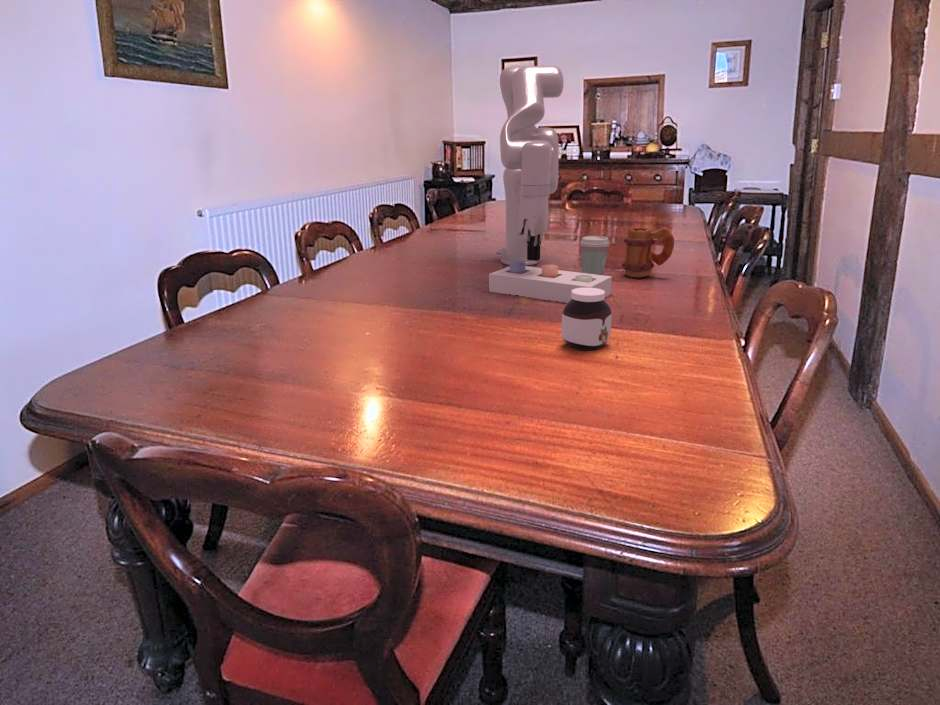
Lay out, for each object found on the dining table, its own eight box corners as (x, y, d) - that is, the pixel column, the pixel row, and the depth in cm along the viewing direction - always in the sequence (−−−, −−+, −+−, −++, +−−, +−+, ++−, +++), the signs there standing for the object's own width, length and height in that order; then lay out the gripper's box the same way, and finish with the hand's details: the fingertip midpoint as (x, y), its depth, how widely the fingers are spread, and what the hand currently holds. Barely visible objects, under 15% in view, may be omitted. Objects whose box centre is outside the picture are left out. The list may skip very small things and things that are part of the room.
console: (489, 291, 182) (489, 273, 181) (514, 281, 193) (514, 264, 192) (589, 306, 167) (590, 287, 165) (610, 294, 178) (611, 276, 176)
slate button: (506, 280, 184) (506, 262, 182) (514, 277, 187) (514, 260, 186) (520, 282, 181) (520, 264, 180) (527, 279, 185) (528, 261, 183)
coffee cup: (607, 281, 192) (609, 240, 188) (577, 280, 193) (579, 240, 189) (607, 275, 200) (609, 235, 196) (579, 274, 201) (580, 235, 197)
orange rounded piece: (538, 284, 179) (538, 266, 177) (545, 281, 182) (546, 263, 180) (553, 286, 176) (553, 268, 175) (560, 283, 180) (560, 265, 178)
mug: (617, 277, 197) (620, 227, 192) (624, 272, 203) (628, 223, 198) (667, 282, 190) (672, 230, 185) (673, 276, 197) (678, 226, 192)
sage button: (571, 296, 174) (572, 277, 172) (578, 292, 177) (579, 274, 176) (587, 298, 172) (588, 279, 170) (594, 294, 175) (595, 276, 173)
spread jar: (581, 355, 133) (584, 299, 129) (543, 341, 141) (545, 288, 137) (621, 343, 139) (625, 289, 135) (583, 330, 148) (585, 279, 144)
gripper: (534, 187, 181) (533, 253, 188) (509, 193, 170) (508, 263, 176) (559, 189, 178) (557, 256, 184) (535, 195, 166) (533, 266, 172)
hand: (533, 259), depth 180 cm, fingers closed
